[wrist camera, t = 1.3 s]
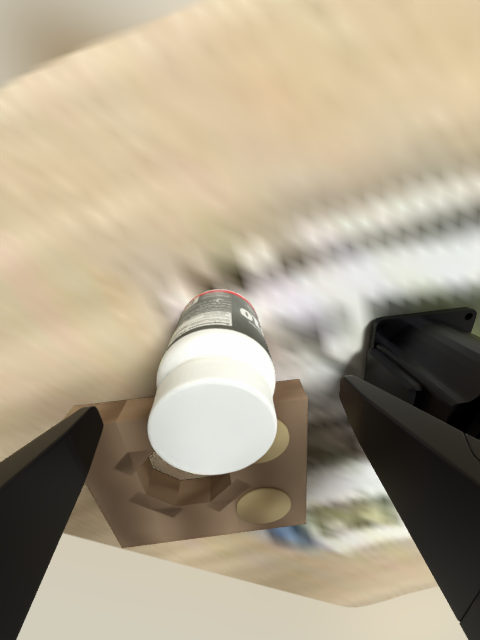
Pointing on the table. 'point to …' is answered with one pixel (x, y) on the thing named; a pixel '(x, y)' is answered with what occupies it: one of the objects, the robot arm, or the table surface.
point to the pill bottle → (214, 388)
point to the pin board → (202, 493)
